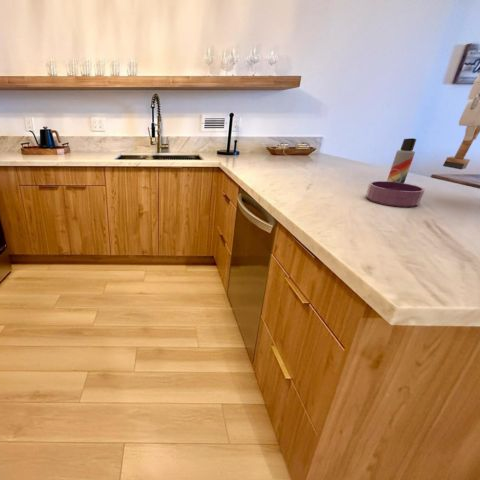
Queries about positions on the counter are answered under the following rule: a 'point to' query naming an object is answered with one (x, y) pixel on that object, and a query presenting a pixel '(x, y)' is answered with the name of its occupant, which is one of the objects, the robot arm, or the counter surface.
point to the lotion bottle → (402, 161)
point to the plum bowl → (394, 193)
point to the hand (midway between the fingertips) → (469, 140)
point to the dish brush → (460, 154)
